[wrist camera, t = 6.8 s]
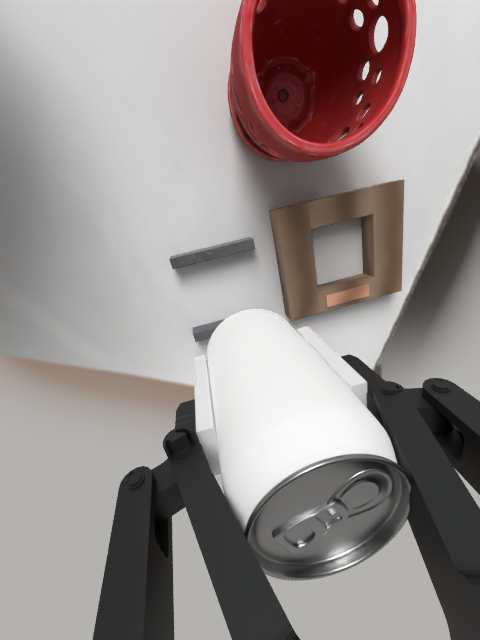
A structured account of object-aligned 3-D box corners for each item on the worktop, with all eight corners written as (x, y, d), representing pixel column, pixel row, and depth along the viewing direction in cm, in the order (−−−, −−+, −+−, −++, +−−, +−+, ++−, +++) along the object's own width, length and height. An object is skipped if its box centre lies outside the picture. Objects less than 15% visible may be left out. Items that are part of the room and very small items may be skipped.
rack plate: (285, 314, 38) (292, 321, 36) (269, 210, 33) (275, 210, 30) (389, 286, 40) (403, 291, 37) (389, 181, 34) (406, 179, 32)
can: (309, 353, 20) (450, 516, 9) (240, 401, 21) (297, 609, 10) (264, 287, 18) (384, 404, 7) (186, 343, 18) (183, 537, 7)
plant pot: (193, 101, 28) (196, 26, 17) (285, -11, 26) (357, -176, 15) (275, 200, 33) (319, 192, 22) (357, 112, 31) (451, 55, 20)
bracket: (195, 335, 37) (195, 341, 35) (170, 256, 33) (169, 259, 31) (264, 316, 38) (268, 322, 36) (249, 237, 34) (253, 238, 32)
